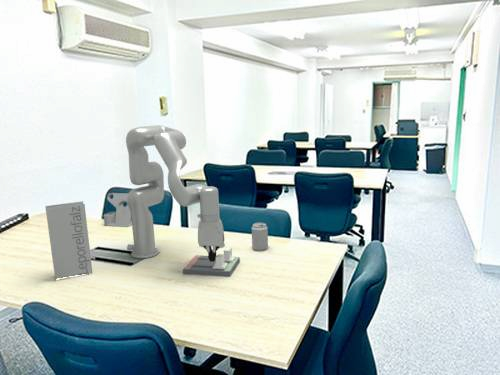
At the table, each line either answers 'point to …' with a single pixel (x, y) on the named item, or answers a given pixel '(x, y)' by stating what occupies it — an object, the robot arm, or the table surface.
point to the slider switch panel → (209, 267)
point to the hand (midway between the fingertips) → (212, 260)
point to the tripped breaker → (220, 262)
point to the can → (259, 236)
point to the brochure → (69, 239)
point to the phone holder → (118, 211)
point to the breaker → (228, 255)
